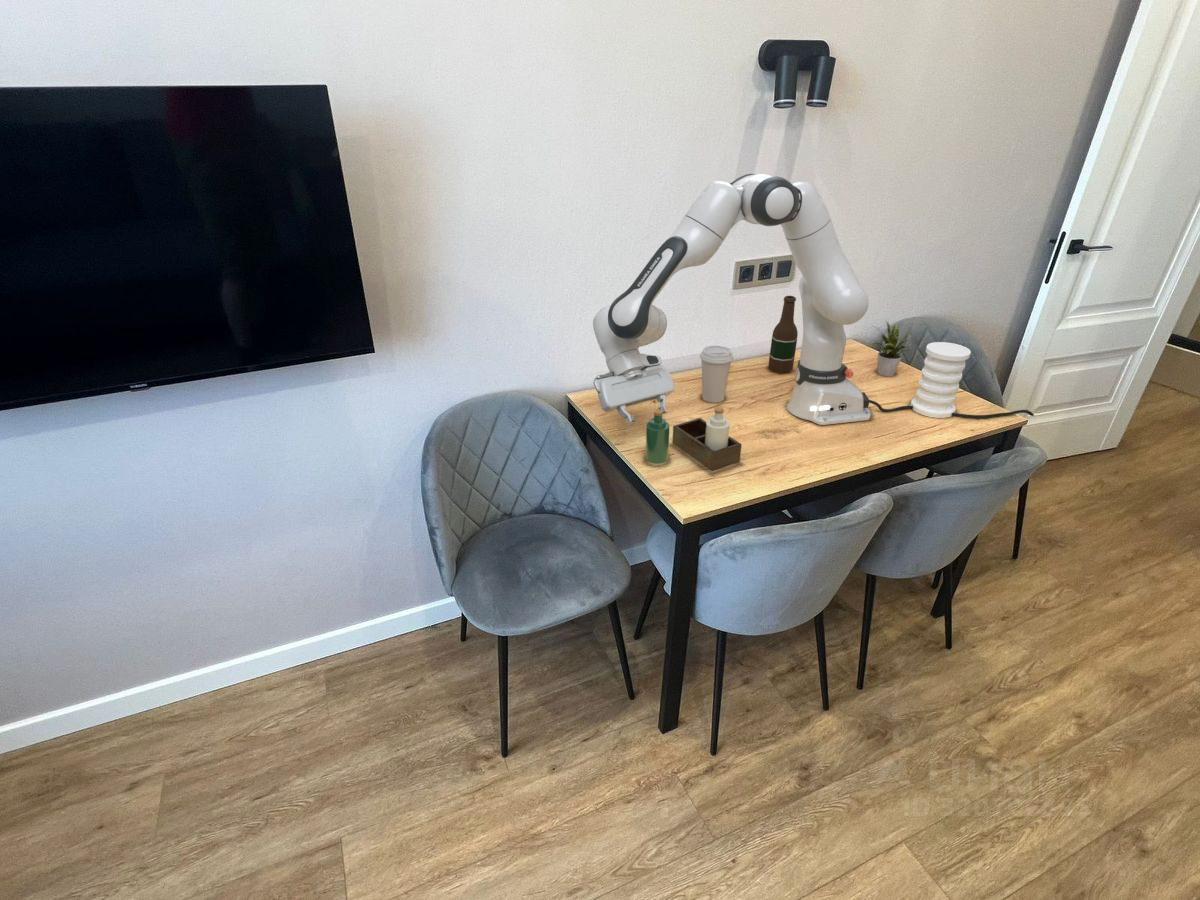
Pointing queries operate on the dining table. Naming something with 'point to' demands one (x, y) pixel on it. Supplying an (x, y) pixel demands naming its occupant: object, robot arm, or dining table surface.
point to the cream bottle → (717, 430)
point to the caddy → (693, 443)
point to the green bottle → (657, 439)
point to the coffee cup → (715, 372)
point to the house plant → (890, 352)
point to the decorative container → (940, 379)
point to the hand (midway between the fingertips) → (647, 418)
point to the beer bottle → (784, 339)
